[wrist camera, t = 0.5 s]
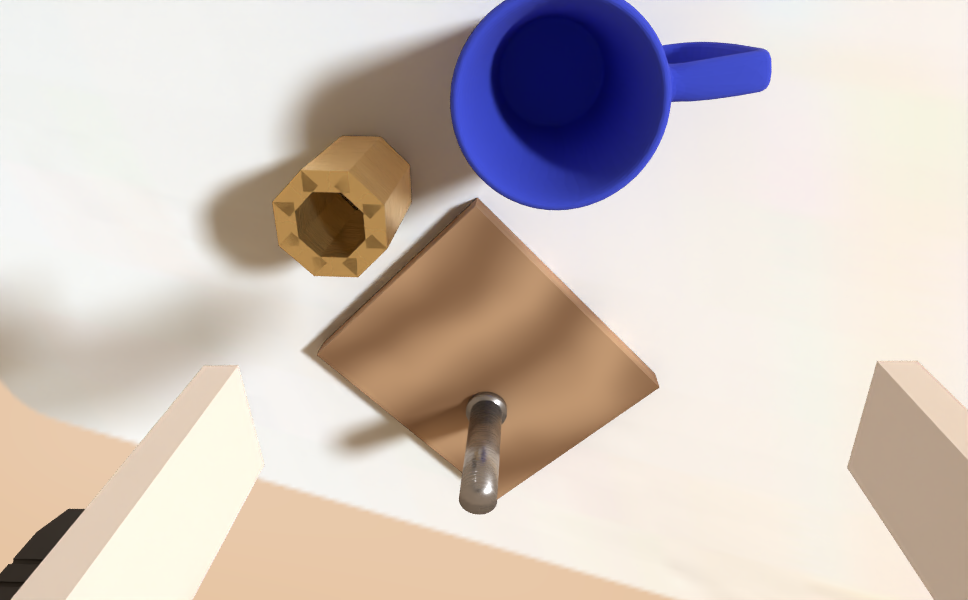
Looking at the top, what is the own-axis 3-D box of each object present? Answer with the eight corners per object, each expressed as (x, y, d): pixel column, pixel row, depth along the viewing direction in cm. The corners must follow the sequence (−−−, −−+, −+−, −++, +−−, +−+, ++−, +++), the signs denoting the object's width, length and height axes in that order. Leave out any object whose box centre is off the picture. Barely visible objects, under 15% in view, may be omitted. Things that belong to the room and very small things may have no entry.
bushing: (300, 181, 36) (252, 223, 30) (359, 115, 34) (321, 146, 28) (369, 243, 37) (338, 296, 31) (429, 184, 35) (408, 227, 29)
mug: (710, 130, 33) (777, 184, 24) (483, 161, 35) (468, 223, 26) (711, -46, 30) (790, -58, 21) (458, -3, 31) (430, 3, 22)
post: (458, 407, 40) (443, 498, 33) (487, 384, 39) (478, 473, 32) (486, 431, 41) (477, 525, 34) (515, 409, 40) (513, 502, 33)
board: (323, 342, 41) (316, 355, 39) (477, 197, 36) (475, 206, 34) (497, 484, 45) (495, 500, 44) (654, 373, 40) (659, 387, 39)
